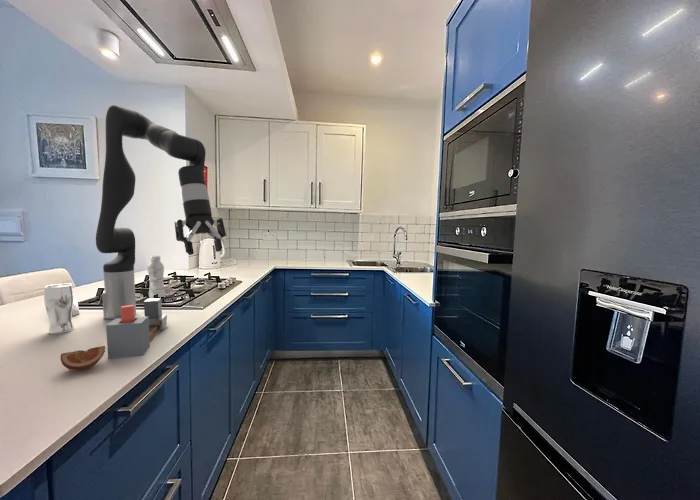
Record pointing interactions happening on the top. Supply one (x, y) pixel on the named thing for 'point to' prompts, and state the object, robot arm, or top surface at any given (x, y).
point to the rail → (153, 331)
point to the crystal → (75, 307)
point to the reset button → (127, 314)
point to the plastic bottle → (156, 277)
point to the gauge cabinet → (127, 338)
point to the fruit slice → (82, 358)
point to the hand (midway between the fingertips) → (205, 252)
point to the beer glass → (59, 307)
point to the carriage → (155, 312)
